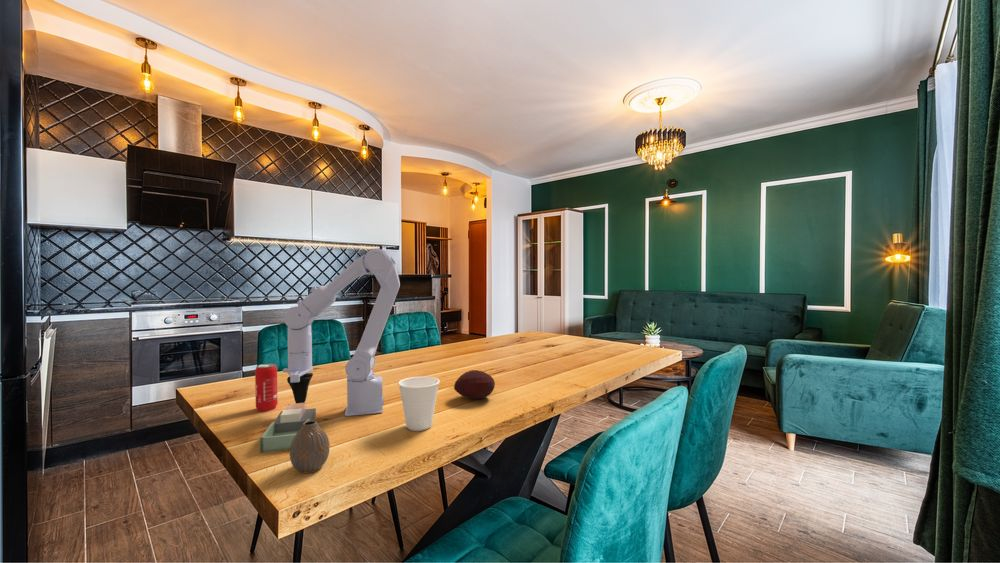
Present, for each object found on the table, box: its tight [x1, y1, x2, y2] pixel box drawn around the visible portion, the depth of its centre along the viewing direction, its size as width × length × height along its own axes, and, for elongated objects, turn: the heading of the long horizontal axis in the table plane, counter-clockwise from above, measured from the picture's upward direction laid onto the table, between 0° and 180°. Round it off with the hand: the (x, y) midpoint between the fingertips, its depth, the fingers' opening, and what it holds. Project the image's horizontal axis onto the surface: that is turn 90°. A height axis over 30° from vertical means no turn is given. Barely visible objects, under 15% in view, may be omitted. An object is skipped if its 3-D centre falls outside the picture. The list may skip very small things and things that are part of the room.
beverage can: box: [254, 363, 279, 412], centre depth 110 cm, size 5×5×12 cm
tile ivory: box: [280, 408, 303, 423], centre depth 95 cm, size 4×4×2 cm
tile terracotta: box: [284, 402, 307, 414], centre depth 100 cm, size 4×4×2 cm
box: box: [259, 419, 310, 454], centre depth 89 cm, size 8×10×3 cm
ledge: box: [273, 407, 317, 433], centre depth 98 cm, size 8×9×2 cm
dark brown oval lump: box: [453, 369, 496, 400], centre depth 119 cm, size 12×11×8 cm
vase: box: [289, 420, 331, 474], centre depth 77 cm, size 7×7×9 cm
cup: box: [397, 376, 440, 432], centre depth 97 cm, size 10×10×11 cm
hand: (300, 402), depth 106 cm, fingers closed
